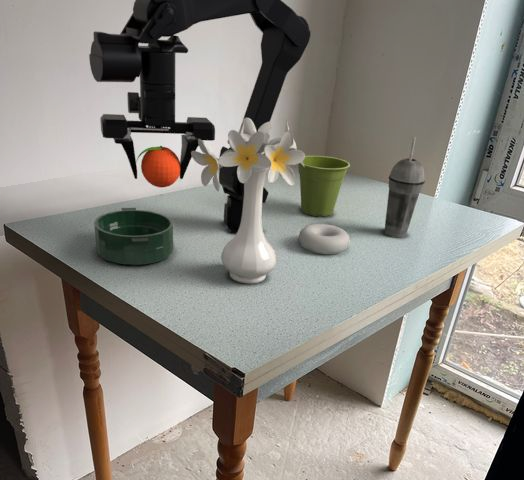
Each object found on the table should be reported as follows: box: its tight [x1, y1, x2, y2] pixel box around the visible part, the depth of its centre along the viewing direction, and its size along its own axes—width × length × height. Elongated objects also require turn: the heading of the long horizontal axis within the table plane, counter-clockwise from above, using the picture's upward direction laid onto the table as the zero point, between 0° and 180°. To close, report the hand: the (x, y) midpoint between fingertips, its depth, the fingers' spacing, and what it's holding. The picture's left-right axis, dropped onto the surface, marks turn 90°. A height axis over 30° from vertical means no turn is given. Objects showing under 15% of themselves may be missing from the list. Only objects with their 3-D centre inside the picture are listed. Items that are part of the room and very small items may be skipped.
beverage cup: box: [384, 135, 426, 238], centre depth 114 cm, size 7×7×20 cm
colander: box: [93, 209, 174, 266], centre depth 99 cm, size 13×13×6 cm
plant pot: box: [297, 155, 351, 217], centre depth 125 cm, size 12×12×11 cm
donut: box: [298, 223, 351, 255], centre depth 109 cm, size 10×4×10 cm
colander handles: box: [121, 207, 149, 245], centre depth 98 cm, size 3×17×1 cm, turn 18°
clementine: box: [136, 145, 181, 188], centre depth 99 cm, size 8×7×7 cm
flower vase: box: [191, 117, 306, 285], centre depth 88 cm, size 13×18×25 cm
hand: (158, 178), depth 100 cm, fingers closed on clementine, 8 cm apart
